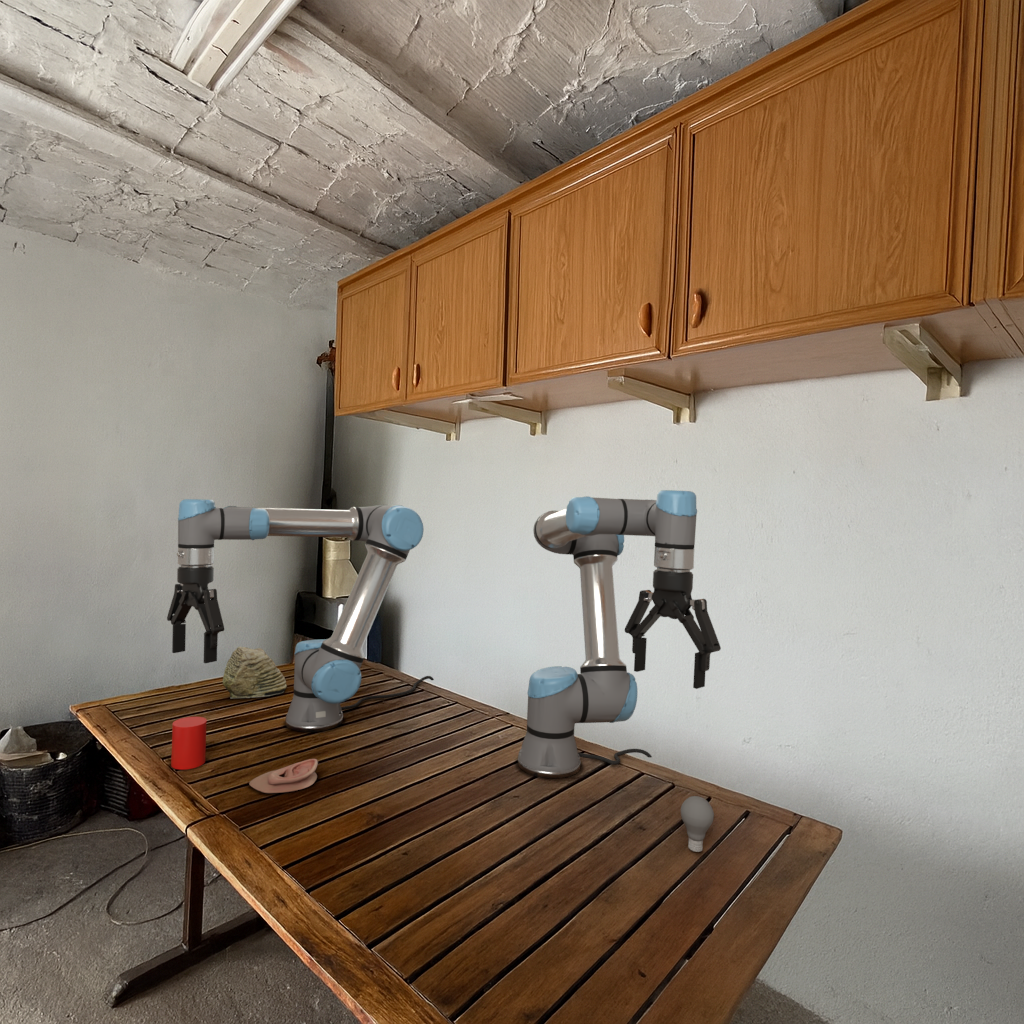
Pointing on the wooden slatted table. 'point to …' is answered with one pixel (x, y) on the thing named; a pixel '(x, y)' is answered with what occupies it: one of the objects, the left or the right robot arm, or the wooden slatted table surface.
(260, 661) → the fossil
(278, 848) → the wooden slatted table surface
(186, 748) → the cylinder
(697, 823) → the light bulb
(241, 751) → the wooden slatted table surface
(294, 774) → the anatomical model
